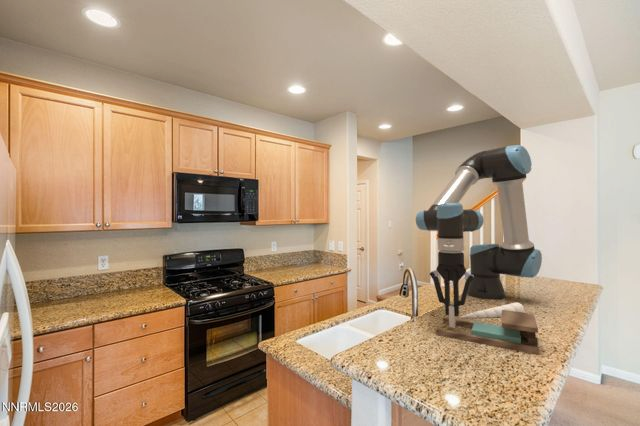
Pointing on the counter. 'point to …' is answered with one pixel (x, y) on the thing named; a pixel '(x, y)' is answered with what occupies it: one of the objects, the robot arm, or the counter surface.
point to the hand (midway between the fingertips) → (452, 325)
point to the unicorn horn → (495, 311)
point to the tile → (496, 332)
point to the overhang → (509, 320)
